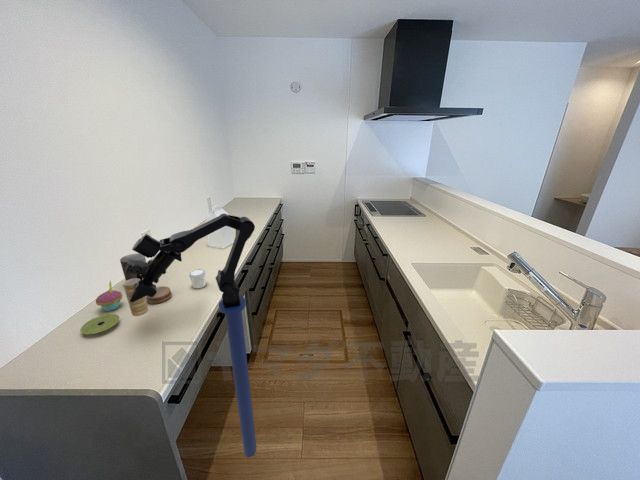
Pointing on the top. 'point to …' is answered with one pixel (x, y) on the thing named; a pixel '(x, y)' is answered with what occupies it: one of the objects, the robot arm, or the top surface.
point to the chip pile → (160, 295)
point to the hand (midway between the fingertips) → (131, 297)
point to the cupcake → (109, 299)
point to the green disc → (99, 324)
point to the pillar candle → (125, 260)
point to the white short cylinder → (198, 278)
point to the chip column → (139, 305)
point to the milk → (219, 231)
